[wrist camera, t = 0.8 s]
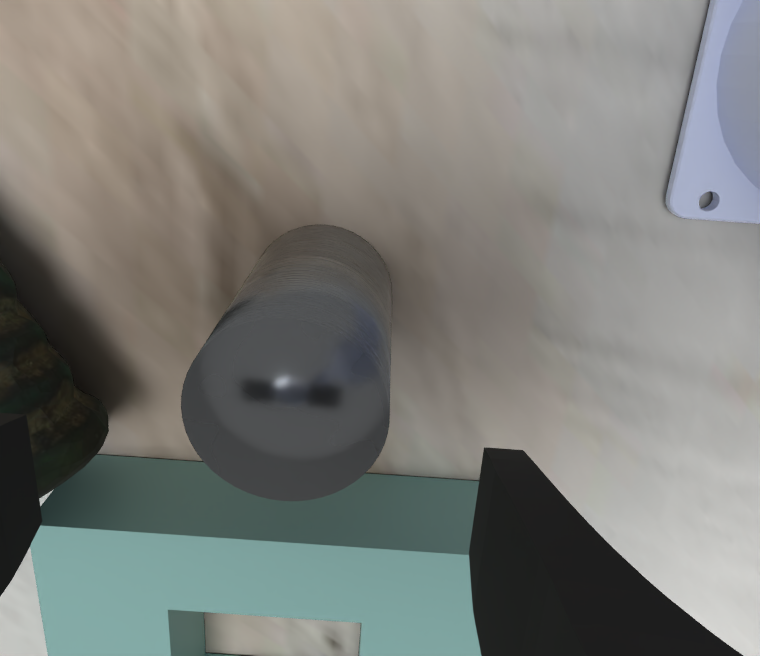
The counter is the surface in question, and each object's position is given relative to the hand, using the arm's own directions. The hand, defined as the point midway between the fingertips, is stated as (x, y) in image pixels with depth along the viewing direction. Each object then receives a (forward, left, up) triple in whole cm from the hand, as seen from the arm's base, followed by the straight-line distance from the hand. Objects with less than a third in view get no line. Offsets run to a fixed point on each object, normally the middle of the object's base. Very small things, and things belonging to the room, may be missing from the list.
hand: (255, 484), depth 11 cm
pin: (0, 0, -9) cm, 9 cm away
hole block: (+1, +12, -9) cm, 15 cm away
